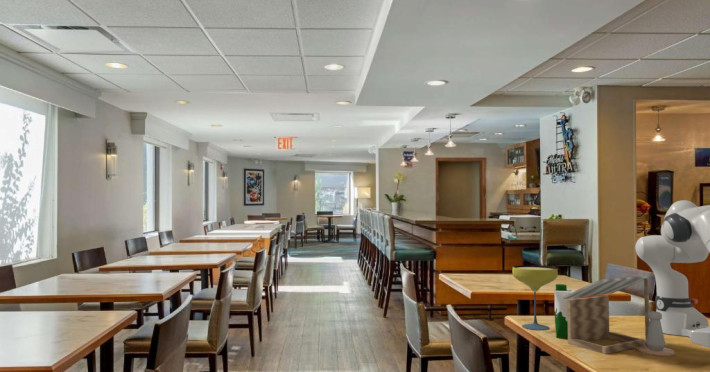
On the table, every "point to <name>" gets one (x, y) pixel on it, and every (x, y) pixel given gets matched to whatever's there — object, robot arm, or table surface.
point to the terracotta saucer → (646, 350)
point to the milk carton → (561, 310)
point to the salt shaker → (655, 332)
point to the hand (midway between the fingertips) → (690, 329)
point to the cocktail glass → (535, 284)
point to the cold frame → (600, 315)
